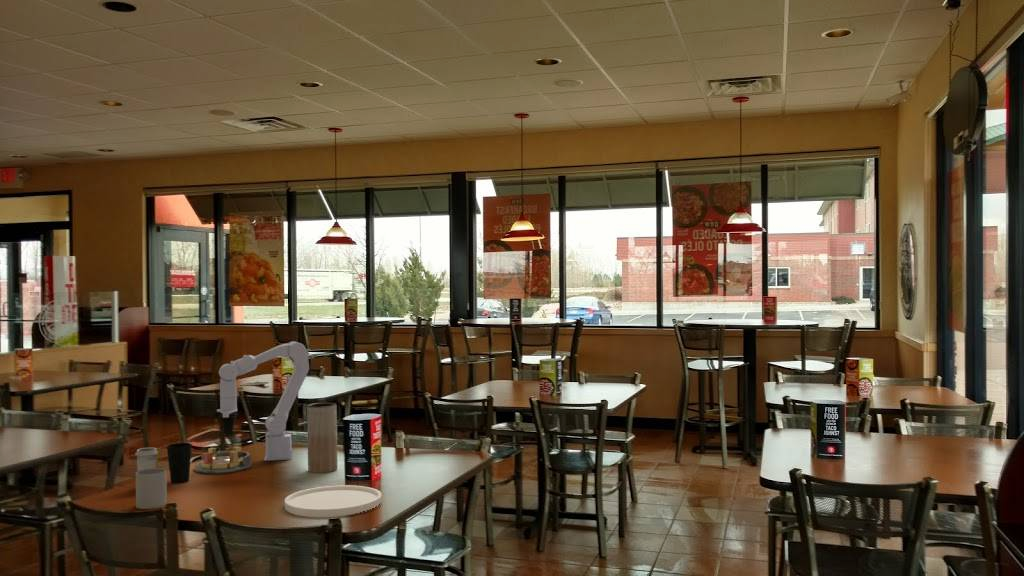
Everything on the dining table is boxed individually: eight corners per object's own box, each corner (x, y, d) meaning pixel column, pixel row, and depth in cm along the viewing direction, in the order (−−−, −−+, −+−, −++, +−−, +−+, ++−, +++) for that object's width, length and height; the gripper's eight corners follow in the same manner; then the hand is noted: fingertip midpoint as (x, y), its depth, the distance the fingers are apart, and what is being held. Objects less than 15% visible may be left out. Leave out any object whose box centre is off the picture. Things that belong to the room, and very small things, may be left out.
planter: (309, 474, 286) (308, 407, 285) (306, 468, 295) (305, 403, 295) (339, 471, 289) (338, 405, 289) (335, 465, 298) (334, 402, 298)
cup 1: (131, 486, 271) (130, 449, 271) (151, 482, 276) (150, 446, 276) (143, 490, 266) (142, 452, 266) (162, 485, 272) (162, 448, 272)
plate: (292, 523, 228) (292, 514, 228) (278, 499, 254) (278, 491, 254) (393, 510, 239) (392, 502, 239) (369, 489, 265) (369, 481, 265)
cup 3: (186, 484, 274) (185, 447, 274) (163, 484, 274) (162, 447, 274) (195, 478, 281) (195, 442, 281) (173, 478, 282) (172, 442, 282)
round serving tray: (254, 460, 308) (254, 449, 308) (247, 472, 290) (247, 460, 290) (199, 463, 305) (199, 452, 305) (189, 475, 286) (189, 463, 286)
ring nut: (247, 459, 306) (246, 445, 306) (241, 467, 292) (241, 453, 292) (205, 461, 303) (204, 447, 303) (197, 470, 289) (197, 455, 289)
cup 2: (173, 502, 250) (172, 469, 250) (152, 509, 243) (152, 475, 243) (150, 500, 253) (149, 467, 253) (129, 507, 245) (129, 473, 245)
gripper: (220, 394, 312) (220, 431, 312) (213, 400, 297) (214, 438, 298) (239, 394, 313) (240, 430, 313) (234, 399, 299) (234, 437, 299)
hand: (229, 434), depth 305 cm, fingers closed
